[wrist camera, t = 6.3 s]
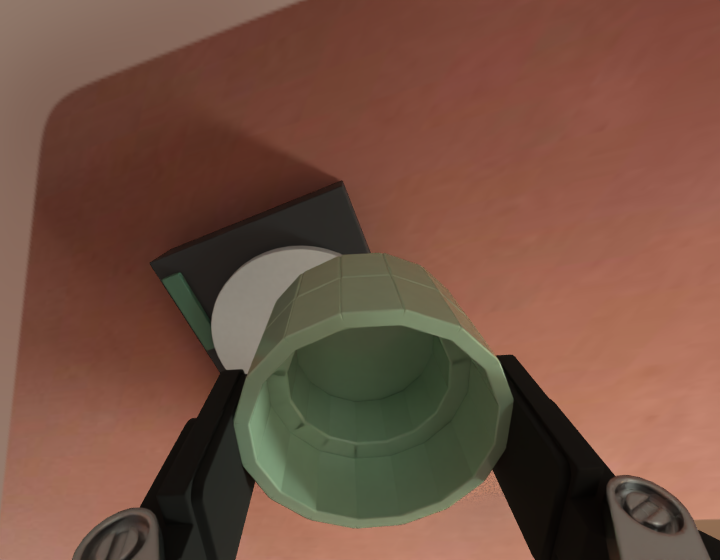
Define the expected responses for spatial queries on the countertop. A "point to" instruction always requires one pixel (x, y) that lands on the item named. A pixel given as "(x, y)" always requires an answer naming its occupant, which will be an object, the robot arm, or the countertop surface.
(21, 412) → the countertop surface
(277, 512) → the countertop surface
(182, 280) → the scale
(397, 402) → the bowl
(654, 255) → the countertop surface
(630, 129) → the countertop surface
